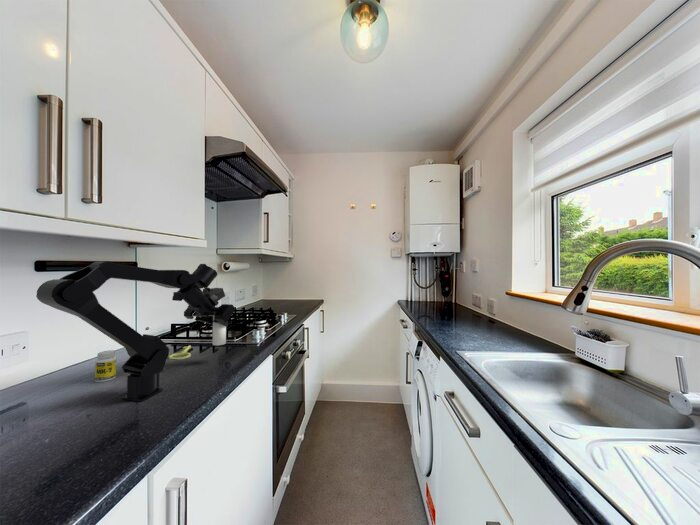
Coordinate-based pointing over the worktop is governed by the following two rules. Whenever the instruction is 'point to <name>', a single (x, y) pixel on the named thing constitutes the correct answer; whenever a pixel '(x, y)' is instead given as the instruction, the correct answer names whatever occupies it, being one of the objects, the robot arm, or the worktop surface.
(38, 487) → the worktop surface
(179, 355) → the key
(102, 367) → the supplement bottle
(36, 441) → the worktop surface
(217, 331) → the white bottle
